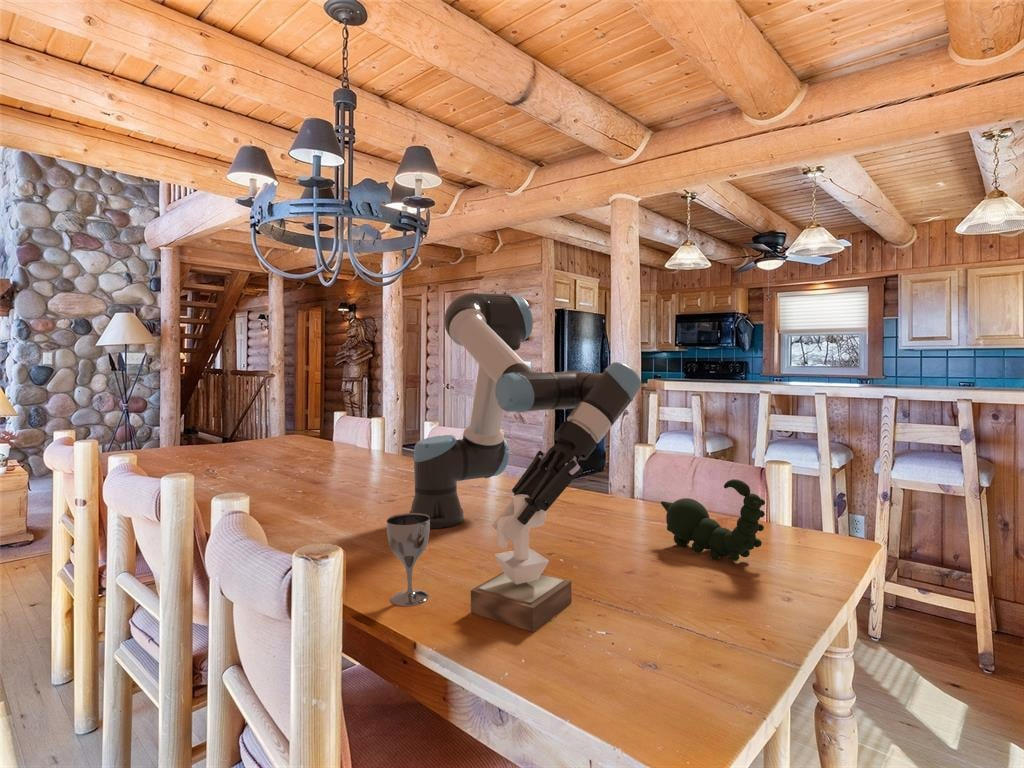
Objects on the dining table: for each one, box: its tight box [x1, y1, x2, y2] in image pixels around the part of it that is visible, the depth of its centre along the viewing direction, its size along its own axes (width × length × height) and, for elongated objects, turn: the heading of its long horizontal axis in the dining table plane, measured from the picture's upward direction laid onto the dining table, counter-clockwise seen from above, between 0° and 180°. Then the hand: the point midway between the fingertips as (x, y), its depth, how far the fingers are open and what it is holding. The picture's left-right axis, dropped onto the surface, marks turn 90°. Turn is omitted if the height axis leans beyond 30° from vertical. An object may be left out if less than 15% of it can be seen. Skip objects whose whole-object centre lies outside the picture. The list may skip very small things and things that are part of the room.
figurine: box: [493, 494, 550, 585], centre depth 97 cm, size 7×9×15 cm
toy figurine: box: [660, 478, 766, 562], centre depth 124 cm, size 10×19×26 cm
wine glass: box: [386, 512, 431, 607], centre depth 102 cm, size 8×8×15 cm
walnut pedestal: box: [470, 571, 573, 633], centre depth 97 cm, size 13×13×4 cm
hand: (502, 533), depth 95 cm, fingers closed on figurine, 3 cm apart
